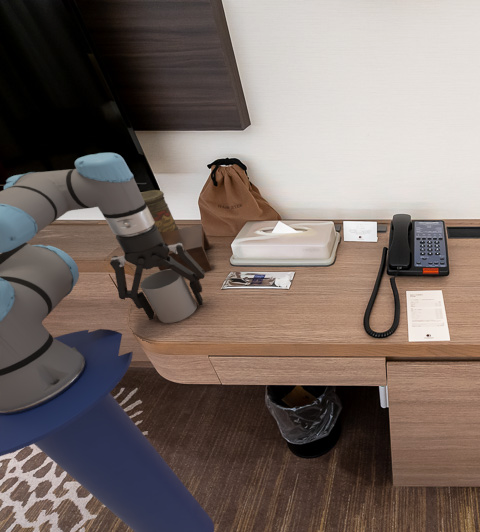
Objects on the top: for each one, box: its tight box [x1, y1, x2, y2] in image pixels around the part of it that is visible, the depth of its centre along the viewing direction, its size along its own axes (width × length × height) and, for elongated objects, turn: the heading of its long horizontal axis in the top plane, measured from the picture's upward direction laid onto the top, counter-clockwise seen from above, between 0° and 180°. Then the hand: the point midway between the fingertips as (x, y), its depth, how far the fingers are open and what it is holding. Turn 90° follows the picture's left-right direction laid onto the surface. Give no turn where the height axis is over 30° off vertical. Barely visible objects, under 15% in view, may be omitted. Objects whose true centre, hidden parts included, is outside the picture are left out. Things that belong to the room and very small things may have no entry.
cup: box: [140, 269, 197, 324], centre depth 83 cm, size 8×8×10 cm
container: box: [140, 189, 179, 233], centre depth 109 cm, size 9×9×18 cm
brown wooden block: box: [157, 224, 212, 272], centre depth 103 cm, size 12×16×8 cm
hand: (177, 309), depth 85 cm, fingers open, 10 cm apart
